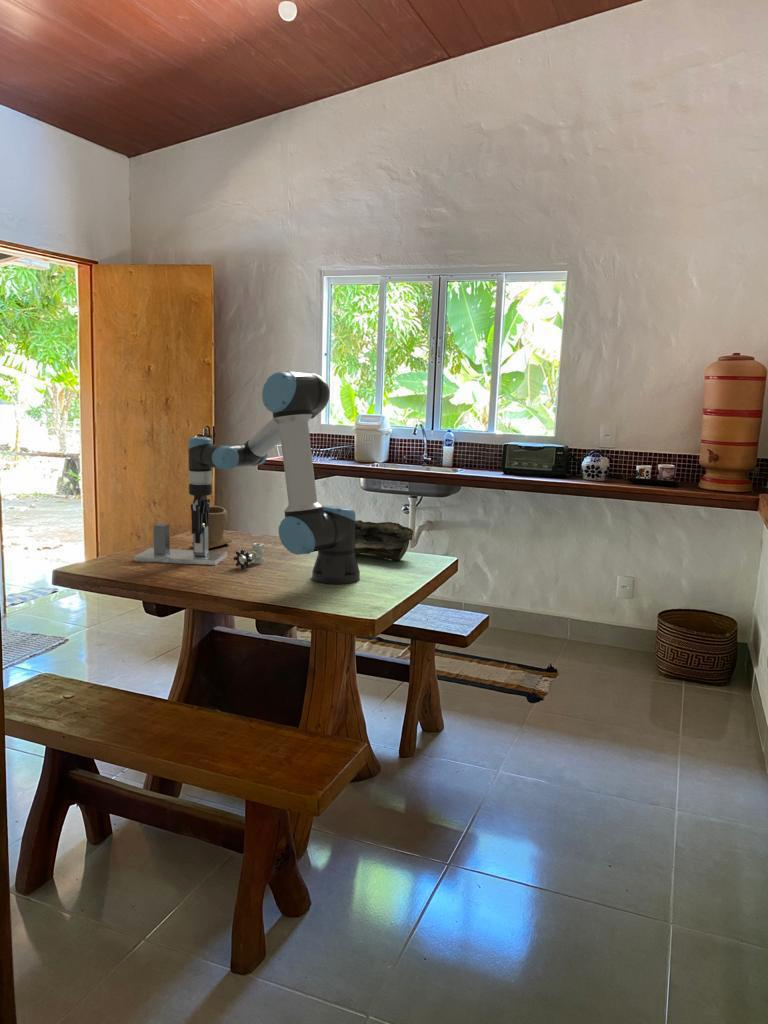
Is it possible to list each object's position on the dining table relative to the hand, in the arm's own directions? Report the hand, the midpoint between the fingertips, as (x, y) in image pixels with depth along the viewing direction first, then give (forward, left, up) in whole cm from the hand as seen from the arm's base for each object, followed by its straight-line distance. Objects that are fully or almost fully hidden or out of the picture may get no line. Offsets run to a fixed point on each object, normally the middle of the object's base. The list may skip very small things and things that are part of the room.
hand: (200, 550), depth 260 cm
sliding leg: (0, 0, -1) cm, 1 cm away
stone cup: (+21, +2, -3) cm, 21 cm away
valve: (-4, -19, -3) cm, 20 cm away
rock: (+14, -59, -3) cm, 61 cm away
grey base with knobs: (0, +7, -3) cm, 7 cm away
